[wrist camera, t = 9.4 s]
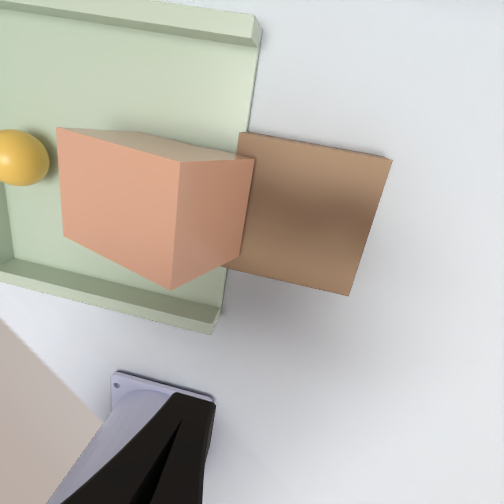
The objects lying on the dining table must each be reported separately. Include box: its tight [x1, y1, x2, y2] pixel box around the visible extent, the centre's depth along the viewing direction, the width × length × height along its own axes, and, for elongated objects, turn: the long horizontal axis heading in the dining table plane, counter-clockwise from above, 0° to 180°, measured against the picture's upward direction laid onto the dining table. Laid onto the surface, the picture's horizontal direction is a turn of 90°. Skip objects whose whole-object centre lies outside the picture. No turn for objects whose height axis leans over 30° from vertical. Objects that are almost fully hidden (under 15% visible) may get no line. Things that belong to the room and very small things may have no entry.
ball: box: [0, 129, 50, 186], centre depth 18 cm, size 3×3×3 cm
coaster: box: [221, 132, 393, 296], centre depth 17 cm, size 7×7×2 cm
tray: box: [0, 0, 262, 335], centre depth 18 cm, size 16×16×2 cm
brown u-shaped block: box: [56, 127, 255, 291], centre depth 15 cm, size 5×5×7 cm
